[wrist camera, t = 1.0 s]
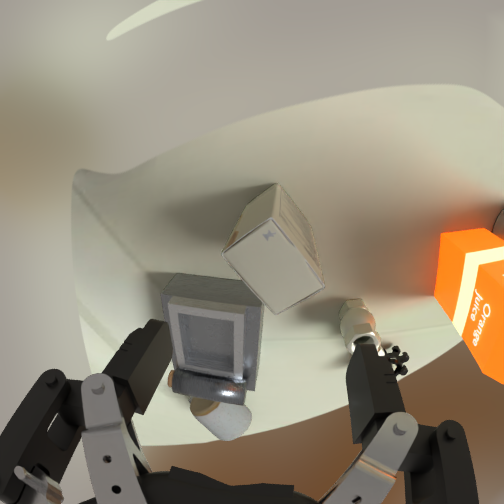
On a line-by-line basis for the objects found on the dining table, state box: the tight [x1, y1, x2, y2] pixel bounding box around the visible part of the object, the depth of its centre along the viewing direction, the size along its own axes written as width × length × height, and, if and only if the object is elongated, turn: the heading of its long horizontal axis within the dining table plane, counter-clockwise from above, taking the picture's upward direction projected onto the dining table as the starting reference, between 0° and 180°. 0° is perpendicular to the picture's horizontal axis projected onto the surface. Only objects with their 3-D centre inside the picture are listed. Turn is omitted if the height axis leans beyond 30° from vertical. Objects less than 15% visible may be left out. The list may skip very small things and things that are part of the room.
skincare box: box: [221, 183, 325, 315], centre depth 23 cm, size 6×4×12 cm
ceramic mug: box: [189, 397, 252, 441], centre depth 39 cm, size 11×8×8 cm
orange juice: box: [434, 228, 504, 384], centre depth 18 cm, size 8×9×20 cm
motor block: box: [161, 273, 264, 406], centre depth 31 cm, size 11×14×9 cm
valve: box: [339, 299, 409, 377], centre depth 30 cm, size 7×7×12 cm
